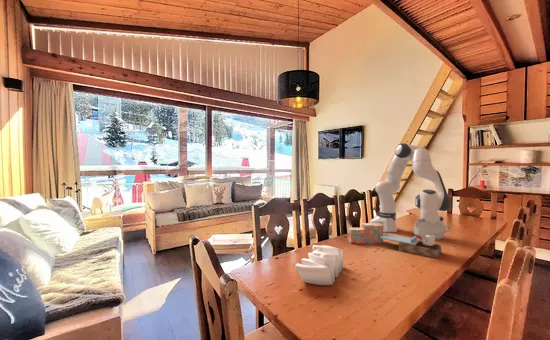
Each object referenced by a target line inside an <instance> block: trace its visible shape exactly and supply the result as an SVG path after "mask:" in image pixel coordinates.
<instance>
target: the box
mask: <svg viewBox="0 0 550 340" xmlns="http://www.w3.org/2000/svg"><path fill="white" fill-rule="evenodd" d="M398 251H399V252H404V253H408V254H413V255H417V256H422V257H426V258H431V259H432V258H433V259H436V260H437V259H439V257H440V256H441V254H442V244H437V243H435V244H434V245H432V246H430V245H426V244H423V241H422V240H420V241H419V242H418V243H417V244H416V245H411V244H406V243H401V242H398Z"/></svg>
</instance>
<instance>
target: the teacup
mask: <svg viewBox="0 0 550 340" xmlns="http://www.w3.org/2000/svg"><path fill="white" fill-rule="evenodd" d="M449 231H450V226H449V225H445V224H444V231H443V232H442V233H437V235H436V238H435V241H436V240H437V241H438V240H439V241H440V240H442V239H443V238H444V237H445V234H446V233H449ZM429 235H430V236H432V234H429Z"/></svg>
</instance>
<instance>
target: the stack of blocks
mask: <svg viewBox="0 0 550 340" xmlns="http://www.w3.org/2000/svg"><path fill="white" fill-rule="evenodd" d="M347 228H348V232H347V233H348V235H347V237H348V239H347V241H349V243H350V244H384V239H380V237H381V236H383V235H384V232H383V225H381V224H380V223H370V222H367V223H366V222H362V223H361V227H347Z"/></svg>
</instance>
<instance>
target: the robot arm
mask: <svg viewBox="0 0 550 340" xmlns="http://www.w3.org/2000/svg"><path fill="white" fill-rule="evenodd" d="M429 152H430V151H429V150H428V149H426V148H424V147H421V146H418V145H414V144H408V143H403V142H402V143H399V144H398V145H397V146H396V147H395V150H394V155H393V157H392V159H391V160H390V163H389V166H388V167H387V169H386V177H385V178H386V179H385V180H381V181H379V182H378V183H376V184H375V192H376V193H377V195H378V200H379V210H378V211H377V212H376V214H377V215H376V216H375V217H373V218H372V219H371V220H370V222H369V223H380V224H381V225H383V233H396V232H398V227H397V221H396V220H397V212H396V201H395V200H394V196H393V195H394V194H396V193H397V192H399V190H400V189H401V180H402V176H403V174H404V172H405V169H406V168H407V166H408V163H409V162H410V161H411V166H412V171H413V173H414V174H415V176H417V177H419V178H421V179H425V180H428V181H430V182H432V183H433V184H434V185H435V189H436V191H435V190H433V189H423V190H421V193H420V194H417V195H416V196H415V198H414V199H415V202H414V203H415V205H414V206H415V207H417V208H418V209H420V213H419V214H420V217H419V218H418V219H416V221H415V222H414V227H413V234H414V236H419V237H421V239H422V240H421V241H422V242H427V239H426V238H425V237H426V235H429V234H432V236H434V237H435V238H436V235H437V233H442V232H443V231H444V225H445V222H444V221H445V217H444V216H441V215H439V212H438V211H440V212H447V211H448V210H449V209H451V207H452V201H451V200H452V199H451V198H450V196H449V194H448V192H447V189H446V186H445V184H444V180H443V179H442V176H441V173H440V172H439V171H438V170H436V169H435V167H434V166H433V164H432V157H431V155H430V153H429Z"/></svg>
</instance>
